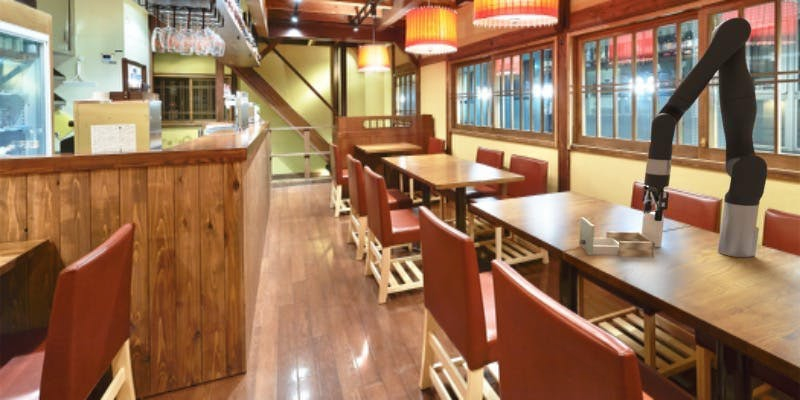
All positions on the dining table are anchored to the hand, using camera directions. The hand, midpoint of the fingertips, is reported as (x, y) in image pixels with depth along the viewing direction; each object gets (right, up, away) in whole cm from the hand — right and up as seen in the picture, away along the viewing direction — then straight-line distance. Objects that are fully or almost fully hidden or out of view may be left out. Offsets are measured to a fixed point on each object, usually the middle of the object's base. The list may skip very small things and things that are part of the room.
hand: (652, 217), depth 160 cm
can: (+1, -10, +2) cm, 10 cm away
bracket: (-20, -11, -3) cm, 23 cm away
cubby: (-11, -11, -4) cm, 16 cm away
